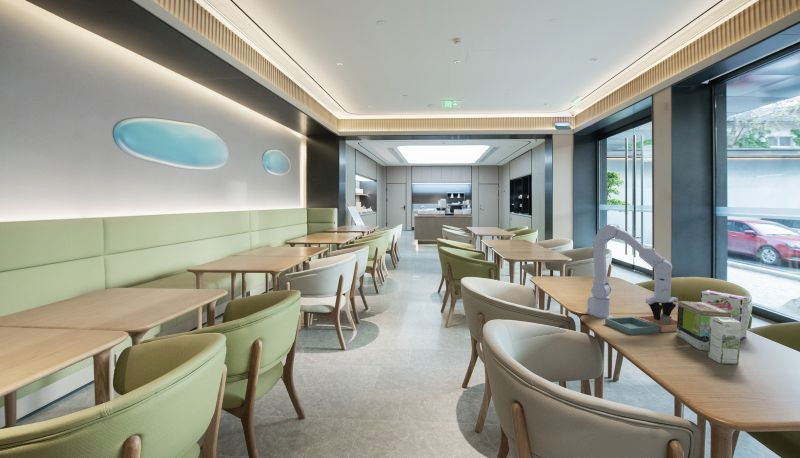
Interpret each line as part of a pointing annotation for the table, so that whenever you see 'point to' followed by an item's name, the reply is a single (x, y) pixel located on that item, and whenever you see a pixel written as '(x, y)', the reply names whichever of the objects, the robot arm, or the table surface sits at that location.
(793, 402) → the table surface
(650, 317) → the terracotta bin
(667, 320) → the stone block
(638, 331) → the slate bin
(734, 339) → the syrup box
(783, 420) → the table surface
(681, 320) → the tea box
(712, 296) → the candy box
